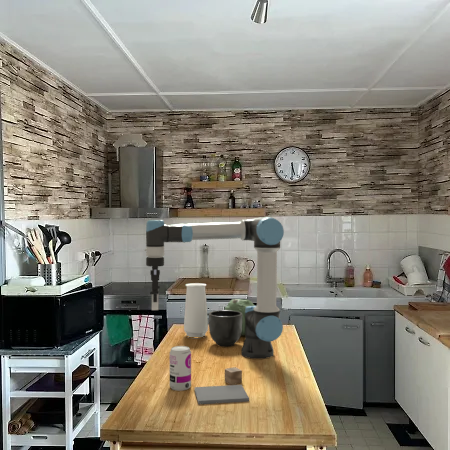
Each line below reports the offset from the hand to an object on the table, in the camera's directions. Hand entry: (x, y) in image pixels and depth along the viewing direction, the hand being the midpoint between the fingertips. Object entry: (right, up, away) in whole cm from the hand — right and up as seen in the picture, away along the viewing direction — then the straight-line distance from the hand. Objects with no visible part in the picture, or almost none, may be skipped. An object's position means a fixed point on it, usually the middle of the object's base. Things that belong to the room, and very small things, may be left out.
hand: (155, 306), depth 211 cm
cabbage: (+39, -26, +63) cm, 78 cm away
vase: (+14, -26, +60) cm, 67 cm away
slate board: (+28, -28, -29) cm, 49 cm away
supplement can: (+13, -28, -20) cm, 36 cm away
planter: (+30, -26, +42) cm, 58 cm away
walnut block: (+33, -27, -14) cm, 45 cm away
